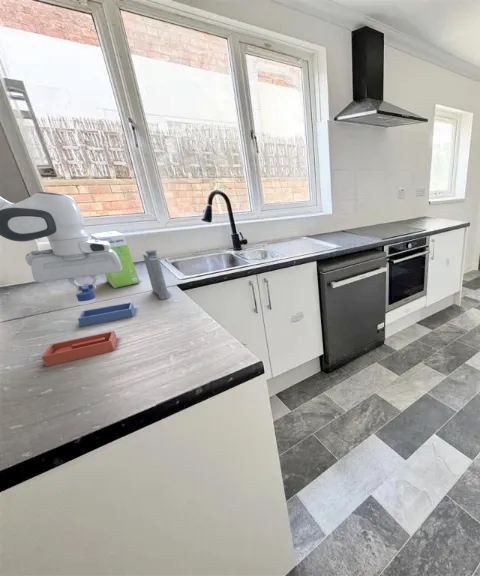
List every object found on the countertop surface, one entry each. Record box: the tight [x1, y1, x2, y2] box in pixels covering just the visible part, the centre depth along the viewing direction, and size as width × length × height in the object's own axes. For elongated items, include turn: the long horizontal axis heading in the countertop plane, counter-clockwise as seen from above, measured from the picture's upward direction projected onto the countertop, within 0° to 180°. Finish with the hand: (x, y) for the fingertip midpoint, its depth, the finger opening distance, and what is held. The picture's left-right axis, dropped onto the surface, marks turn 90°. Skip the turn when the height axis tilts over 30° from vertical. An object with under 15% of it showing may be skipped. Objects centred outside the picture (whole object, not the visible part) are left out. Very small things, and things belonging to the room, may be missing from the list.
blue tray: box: [77, 301, 135, 328], centre depth 111 cm, size 14×8×4 cm, turn 125°
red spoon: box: [54, 338, 106, 353], centre depth 89 cm, size 11×4×3 cm, turn 124°
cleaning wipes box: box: [90, 230, 140, 289], centre depth 148 cm, size 18×10×24 cm, turn 49°
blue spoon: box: [75, 282, 96, 302], centre depth 97 cm, size 11×4×3 cm, turn 37°
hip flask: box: [142, 249, 170, 300], centre depth 131 cm, size 16×4×20 cm, turn 45°
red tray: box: [41, 330, 118, 367], centre depth 89 cm, size 14×8×4 cm, turn 125°
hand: (87, 289), depth 99 cm, fingers closed on blue spoon
